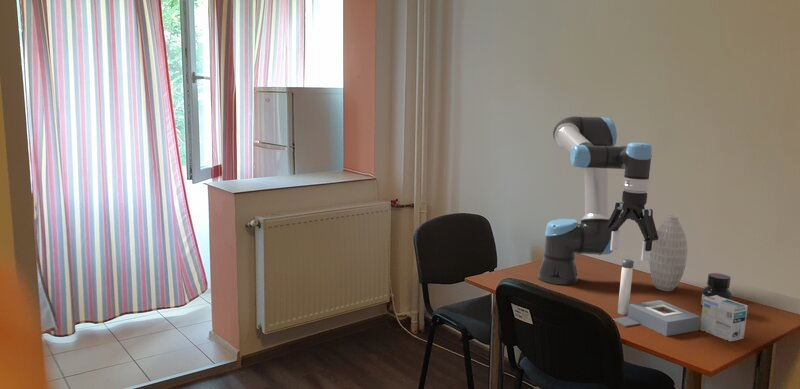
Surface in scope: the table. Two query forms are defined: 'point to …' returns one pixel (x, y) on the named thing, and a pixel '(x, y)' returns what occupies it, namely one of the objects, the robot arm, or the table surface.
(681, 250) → the vase
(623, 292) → the stylus
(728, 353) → the table surface
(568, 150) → the robot arm
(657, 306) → the panel
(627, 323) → the pad
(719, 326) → the light bulb box
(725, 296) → the ink bottle
